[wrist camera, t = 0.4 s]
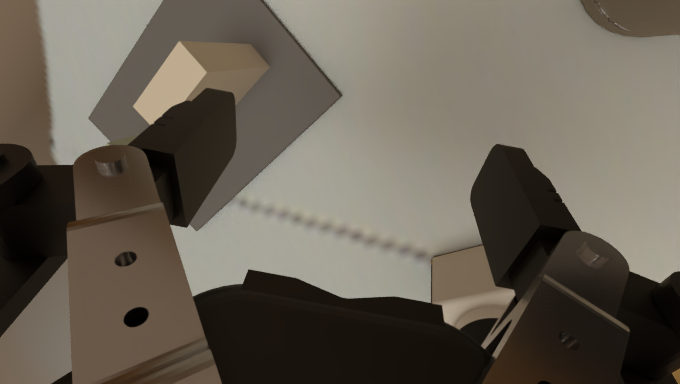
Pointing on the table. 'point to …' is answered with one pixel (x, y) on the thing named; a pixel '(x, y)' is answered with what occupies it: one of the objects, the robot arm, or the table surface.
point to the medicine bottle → (468, 292)
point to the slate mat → (251, 111)
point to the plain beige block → (200, 75)
